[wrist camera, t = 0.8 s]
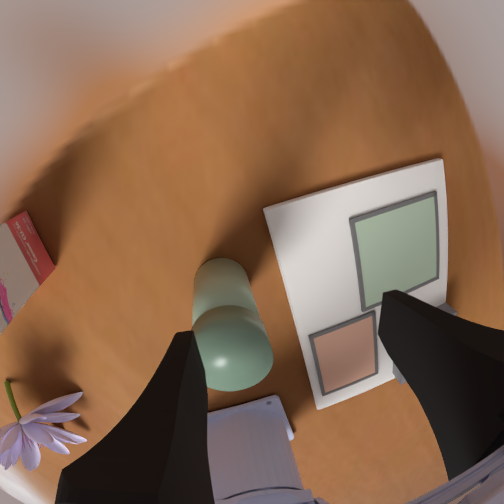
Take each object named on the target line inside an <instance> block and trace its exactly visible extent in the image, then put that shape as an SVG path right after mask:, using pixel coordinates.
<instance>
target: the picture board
mask: <svg viewBox="0 0 504 504" xmlns="http://www.w3.org/2000/svg"><path fill="white" fill-rule="evenodd" d="M263 212H264V215H265V219H266V222H267V226H268V229H269V233H270V236H271V240H272V243H273V247H274V250H275V254H276V257H277V261H278V265H279V268H280V272H281V275H282V279H283V283H284V286H285V290H286V294H287V297H288V301H289V305H290V308H291V312H292V316H293V319H294V323H295V327H296V331H297V334H298V338H299V342H300V346H301V350H302V353H303V357H304V361H305V365H306V369H307V373H308V377H309V380H310V384H311V388H312V392H313V396H314V400H315V404H316V407H317V410H319V409H322V408H325V407H328V406H330V405H333V404H335V403H338V402H341V401H343V400H346V399H348V398H351V397H353V396H355V395H358V394H360V393H363V392H365V391H367V390H370V389H372V388H374V387H376V386H379V385H381V384H383V383H385V382H387V381H389V380H392V379H394V378H396V379H397V380H398V382H399V383H400V384H403V383H405V382H407V381H406V380H405V378H404V377H403V375H402V374H401V373H400V371H399V370H398V368H397V367H396V365H395V364H394V362H393V361H392V360H391V358H390V357H389V355H388V354H387V352H386V350H385V348H384V346H383V344H382V342H381V340H380V338H379V336H378V327H379V320H380V312H381V304H382V295H383V292H387V291H391V290H395V289H396V290H399V291H402V292H404V293H406V294H409V295H411V296H413V297H415V298H417V299H420V300H422V301H424V302H426V303H428V304H430V305H432V306H434V307H437V308H439V309H441V310H443V311H445V312H448V313H450V314H452V315H455V316H457V311H455V310H454V309H453V308H452V307H451V306H450V305H448V304H447V303H446V291H447V270H448V219H447V199H446V185H445V174H444V165H443V159H439V158H437V159H433V160H429V161H425V162H421V163H417V164H413V165H410V166H406V167H402V168H398V169H395V170H391V171H387V172H384V173H380V174H376V175H373V176H369V177H366V178H362V179H359V180H355V181H351V182H348V183H345V184H341V185H338V186H334V187H331V188H327V189H324V190H321V191H317V192H314V193H311V194H307V195H304V196H301V197H297V198H294V199H291V200H287V201H284V202H281V203H278V204H275V205H271V206H268V207H265V208H263Z"/></svg>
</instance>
